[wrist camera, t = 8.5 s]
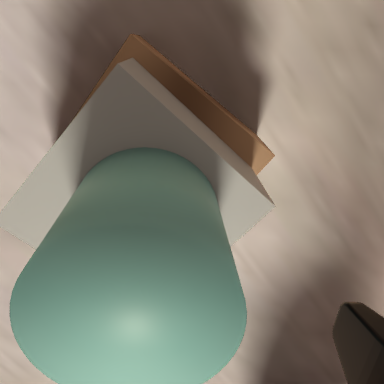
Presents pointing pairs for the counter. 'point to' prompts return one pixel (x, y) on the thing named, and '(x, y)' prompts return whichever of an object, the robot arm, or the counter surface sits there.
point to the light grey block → (127, 139)
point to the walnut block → (193, 101)
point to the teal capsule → (133, 279)
